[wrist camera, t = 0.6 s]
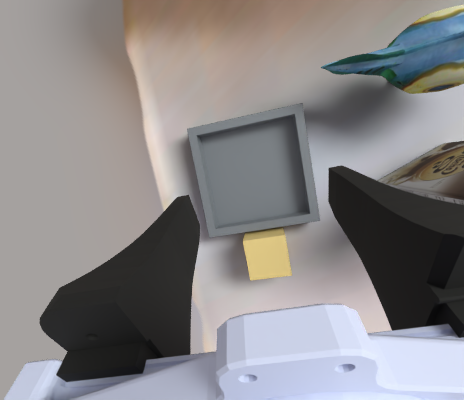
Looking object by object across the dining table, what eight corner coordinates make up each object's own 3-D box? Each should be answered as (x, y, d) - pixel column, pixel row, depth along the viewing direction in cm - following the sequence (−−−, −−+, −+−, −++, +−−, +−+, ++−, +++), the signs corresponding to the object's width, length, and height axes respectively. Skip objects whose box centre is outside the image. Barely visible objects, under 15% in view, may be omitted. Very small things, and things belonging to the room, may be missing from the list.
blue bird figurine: (378, 110, 32) (378, 61, 31) (526, 77, 22) (531, 4, 21) (318, 100, 24) (316, 35, 23) (502, 44, 14) (509, -72, 13)
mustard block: (287, 259, 34) (291, 275, 29) (252, 264, 35) (250, 280, 30) (281, 224, 33) (285, 234, 28) (245, 230, 34) (242, 241, 29)
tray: (315, 216, 32) (320, 220, 30) (213, 231, 34) (209, 237, 32) (298, 108, 31) (302, 103, 28) (193, 132, 33) (187, 128, 30)
